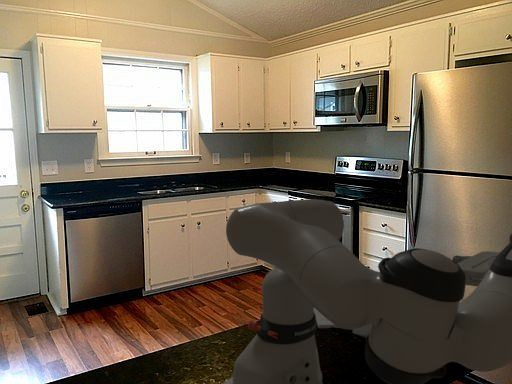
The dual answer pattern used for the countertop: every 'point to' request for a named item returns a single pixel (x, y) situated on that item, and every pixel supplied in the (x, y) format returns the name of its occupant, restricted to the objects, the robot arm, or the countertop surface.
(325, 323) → the external hard drive
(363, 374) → the countertop surface
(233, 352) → the countertop surface
